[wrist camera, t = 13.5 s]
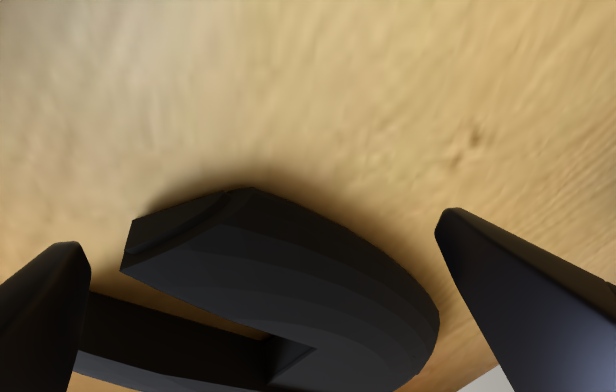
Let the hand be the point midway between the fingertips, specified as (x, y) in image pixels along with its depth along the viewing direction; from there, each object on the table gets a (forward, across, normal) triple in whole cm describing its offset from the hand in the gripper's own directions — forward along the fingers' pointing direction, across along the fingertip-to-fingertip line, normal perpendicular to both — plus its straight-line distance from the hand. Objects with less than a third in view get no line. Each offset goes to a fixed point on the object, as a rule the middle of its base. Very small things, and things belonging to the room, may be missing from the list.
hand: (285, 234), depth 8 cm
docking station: (+12, -5, +25) cm, 29 cm away
